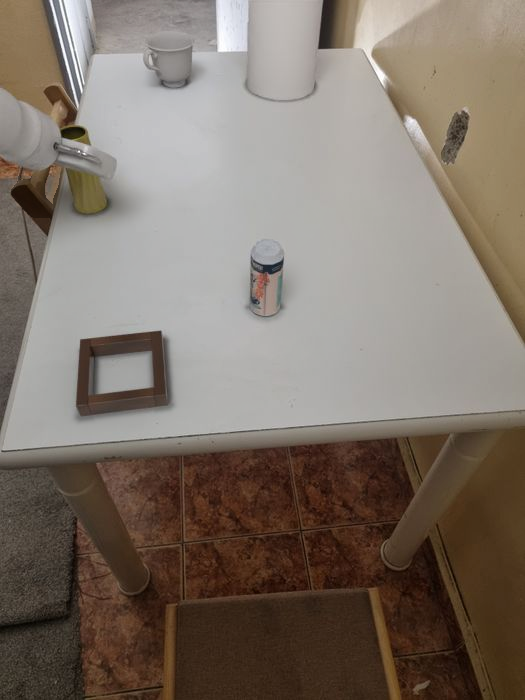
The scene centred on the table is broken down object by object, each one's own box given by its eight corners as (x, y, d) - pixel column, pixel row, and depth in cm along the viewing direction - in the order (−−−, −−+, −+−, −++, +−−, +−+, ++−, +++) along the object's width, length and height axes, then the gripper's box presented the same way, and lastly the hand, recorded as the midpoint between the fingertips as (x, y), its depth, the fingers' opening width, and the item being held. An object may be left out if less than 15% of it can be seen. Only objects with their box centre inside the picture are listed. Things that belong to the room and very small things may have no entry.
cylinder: (322, 97, 129) (338, -39, 108) (255, 102, 126) (257, -36, 105) (303, 68, 140) (314, -61, 118) (241, 72, 137) (240, -59, 115)
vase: (67, 208, 97) (44, 135, 86) (88, 191, 101) (69, 120, 90) (93, 218, 95) (73, 145, 84) (114, 201, 99) (97, 129, 88)
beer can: (246, 299, 83) (246, 240, 74) (274, 294, 84) (278, 234, 75) (255, 321, 80) (256, 261, 71) (284, 314, 81) (289, 255, 72)
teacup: (132, 87, 130) (125, 44, 122) (173, 68, 137) (169, 26, 130) (167, 102, 125) (162, 58, 117) (207, 81, 133) (205, 39, 125)
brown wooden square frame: (80, 416, 68) (75, 406, 66) (84, 350, 75) (79, 339, 74) (168, 405, 70) (165, 394, 68) (163, 341, 77) (161, 330, 75)
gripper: (93, 132, 76) (138, 161, 90) (-18, 104, 81) (40, 135, 94) (82, 175, 77) (128, 197, 90) (-27, 144, 82) (32, 170, 95)
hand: (83, 165), depth 92 cm, fingers closed on vase, 5 cm apart
